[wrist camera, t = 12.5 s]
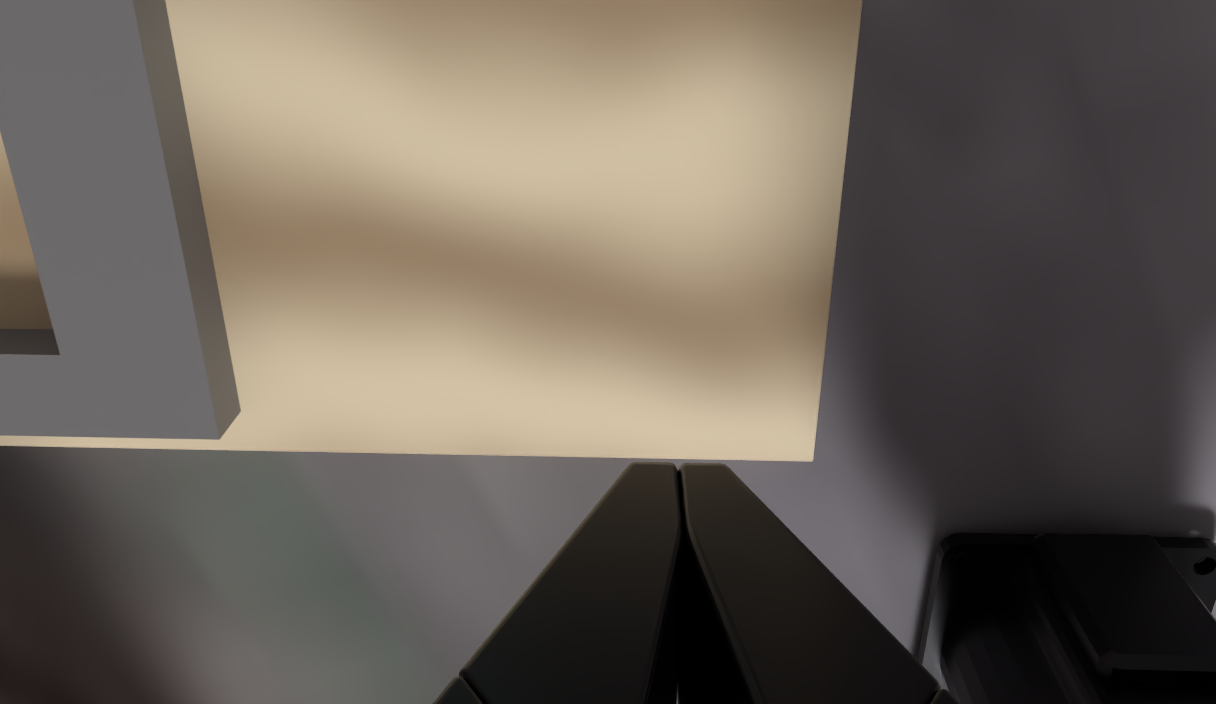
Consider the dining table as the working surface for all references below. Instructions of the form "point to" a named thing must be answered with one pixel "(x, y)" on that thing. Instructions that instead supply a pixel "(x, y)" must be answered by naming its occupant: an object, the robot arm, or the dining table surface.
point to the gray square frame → (109, 230)
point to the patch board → (510, 222)
